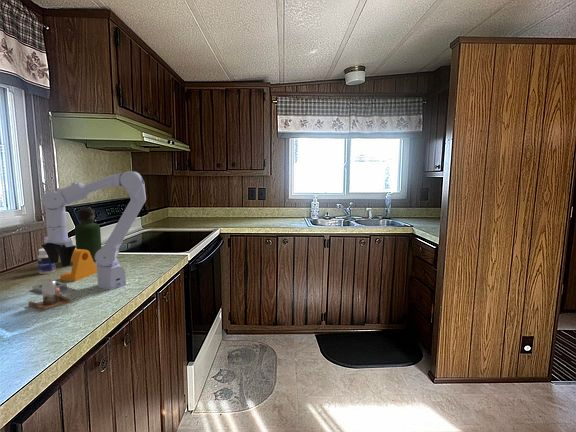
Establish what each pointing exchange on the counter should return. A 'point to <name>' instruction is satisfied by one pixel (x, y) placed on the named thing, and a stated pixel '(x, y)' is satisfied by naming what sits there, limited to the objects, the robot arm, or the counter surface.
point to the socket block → (60, 285)
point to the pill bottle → (44, 263)
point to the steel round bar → (49, 292)
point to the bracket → (80, 266)
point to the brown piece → (39, 306)
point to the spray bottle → (88, 232)
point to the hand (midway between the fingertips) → (60, 264)
